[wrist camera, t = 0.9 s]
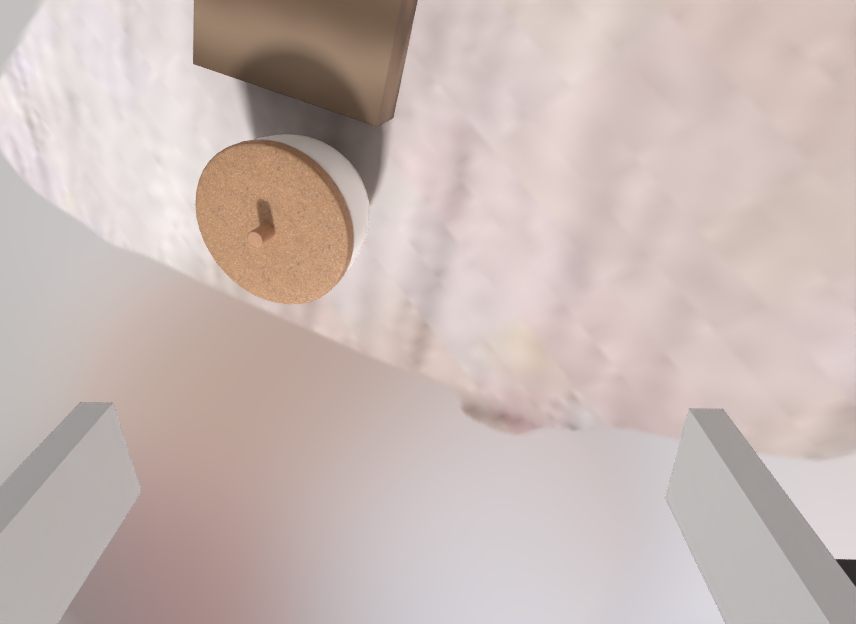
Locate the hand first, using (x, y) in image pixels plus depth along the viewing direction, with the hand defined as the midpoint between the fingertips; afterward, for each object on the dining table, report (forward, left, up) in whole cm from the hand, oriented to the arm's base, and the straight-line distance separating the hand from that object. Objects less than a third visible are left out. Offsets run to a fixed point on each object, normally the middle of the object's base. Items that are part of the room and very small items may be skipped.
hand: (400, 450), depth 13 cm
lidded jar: (+7, -14, -27) cm, 32 cm away
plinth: (-6, -16, -27) cm, 32 cm away
